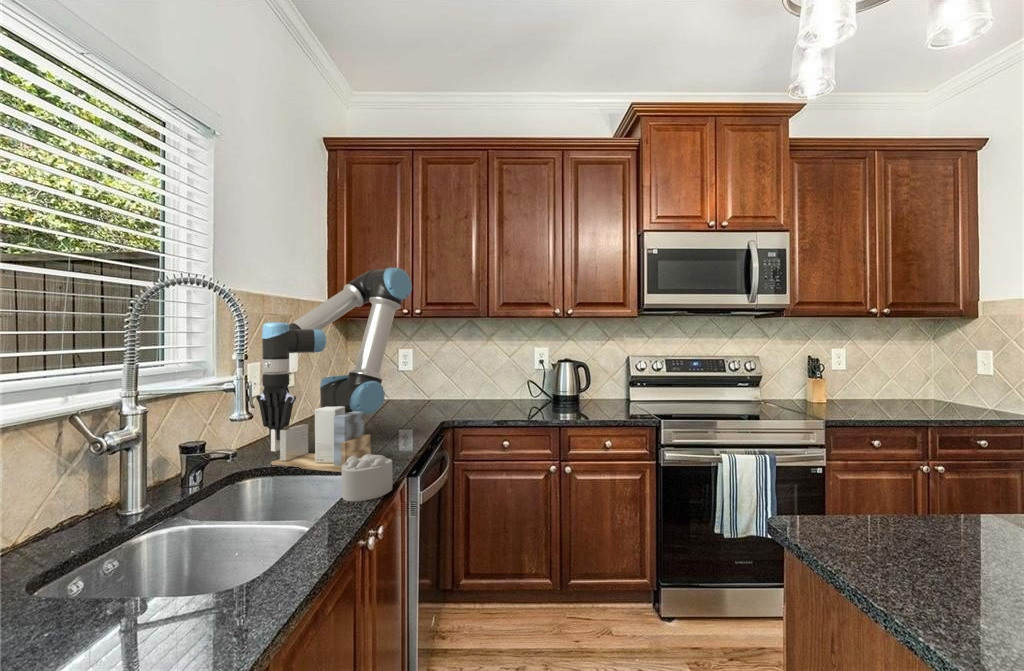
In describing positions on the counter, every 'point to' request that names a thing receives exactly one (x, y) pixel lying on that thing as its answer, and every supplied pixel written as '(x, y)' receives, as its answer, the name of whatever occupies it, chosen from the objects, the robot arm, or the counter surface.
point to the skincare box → (325, 433)
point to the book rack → (338, 444)
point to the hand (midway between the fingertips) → (276, 450)
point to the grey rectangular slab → (293, 442)
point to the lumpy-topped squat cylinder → (366, 477)
